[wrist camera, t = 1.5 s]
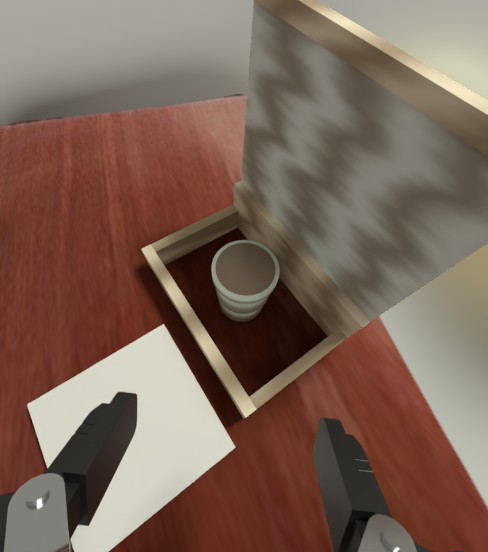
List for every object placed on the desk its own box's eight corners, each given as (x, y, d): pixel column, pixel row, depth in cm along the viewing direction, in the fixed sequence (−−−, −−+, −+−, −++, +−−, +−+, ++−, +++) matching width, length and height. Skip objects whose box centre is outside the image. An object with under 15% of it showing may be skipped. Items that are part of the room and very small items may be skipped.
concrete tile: (34, 405, 26) (26, 404, 25) (165, 327, 31) (163, 324, 30) (88, 566, 22) (81, 573, 20) (235, 446, 26) (235, 447, 25)
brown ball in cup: (204, 293, 33) (198, 258, 26) (247, 268, 35) (253, 229, 28) (233, 337, 31) (236, 312, 24) (278, 307, 33) (293, 276, 26)
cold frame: (148, 264, 34) (23, 10, 13) (242, 216, 39) (264, -31, 18) (243, 418, 27) (314, 415, 6) (345, 337, 32) (600, 166, 10)
